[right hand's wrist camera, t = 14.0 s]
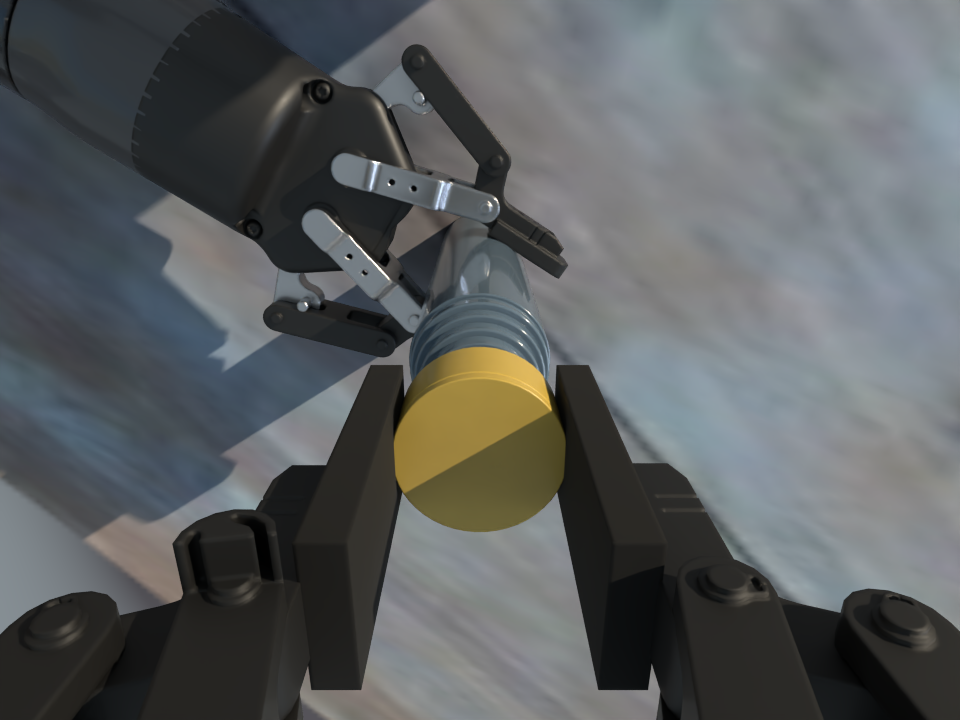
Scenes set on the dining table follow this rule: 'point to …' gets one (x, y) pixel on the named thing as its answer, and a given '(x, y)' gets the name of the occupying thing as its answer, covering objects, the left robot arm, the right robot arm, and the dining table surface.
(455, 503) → the cap
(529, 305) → the bottle
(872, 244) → the dining table surface
